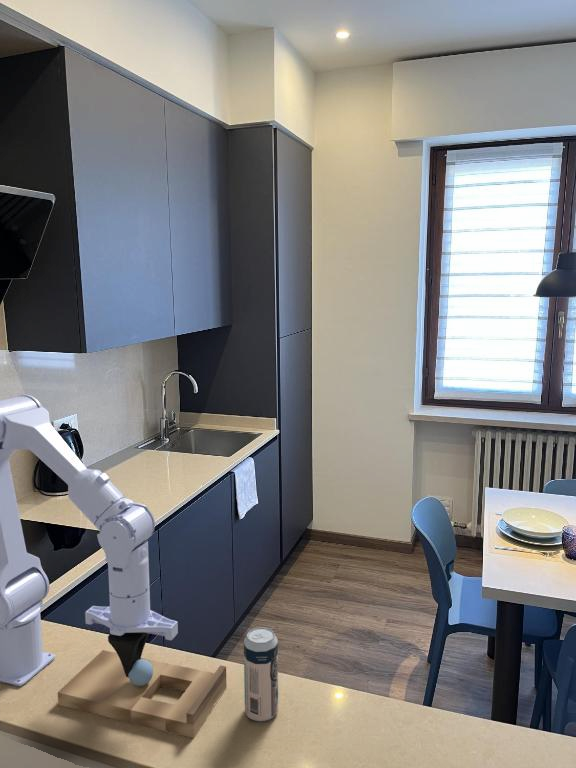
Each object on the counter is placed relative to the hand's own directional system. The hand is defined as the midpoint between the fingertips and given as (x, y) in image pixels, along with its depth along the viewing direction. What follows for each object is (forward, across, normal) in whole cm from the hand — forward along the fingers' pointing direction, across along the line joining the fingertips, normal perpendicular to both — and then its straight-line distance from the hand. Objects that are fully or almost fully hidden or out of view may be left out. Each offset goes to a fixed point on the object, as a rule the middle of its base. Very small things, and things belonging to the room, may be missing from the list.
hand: (132, 673), depth 88 cm
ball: (0, +1, 0) cm, 1 cm away
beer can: (+3, +20, +2) cm, 20 cm away
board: (+3, +2, 0) cm, 4 cm away
